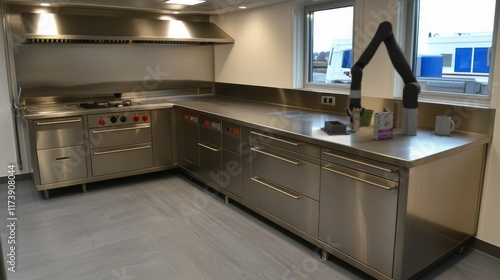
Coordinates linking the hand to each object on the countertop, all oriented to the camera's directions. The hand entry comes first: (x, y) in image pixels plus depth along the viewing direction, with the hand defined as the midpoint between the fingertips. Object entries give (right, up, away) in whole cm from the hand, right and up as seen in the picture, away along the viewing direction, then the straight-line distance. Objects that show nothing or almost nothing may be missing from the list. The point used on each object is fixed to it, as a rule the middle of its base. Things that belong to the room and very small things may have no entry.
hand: (354, 122), depth 266 cm
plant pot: (+13, -1, +21) cm, 25 cm away
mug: (+55, -8, -11) cm, 57 cm away
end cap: (-13, -6, 0) cm, 14 cm away
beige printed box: (0, -5, +1) cm, 5 cm away
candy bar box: (+11, -11, -22) cm, 27 cm away
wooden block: (+30, -2, +16) cm, 34 cm away
